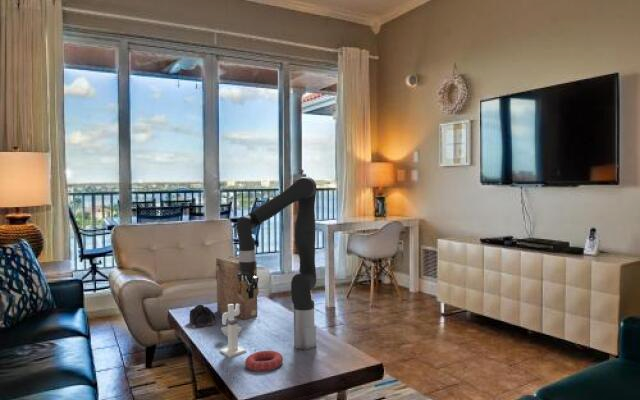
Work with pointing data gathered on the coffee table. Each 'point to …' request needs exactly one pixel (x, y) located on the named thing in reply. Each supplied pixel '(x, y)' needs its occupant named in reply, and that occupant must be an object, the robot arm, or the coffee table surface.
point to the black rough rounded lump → (201, 316)
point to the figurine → (230, 317)
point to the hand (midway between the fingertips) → (248, 297)
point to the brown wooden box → (232, 288)
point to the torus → (273, 362)
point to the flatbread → (242, 291)
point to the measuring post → (232, 340)
